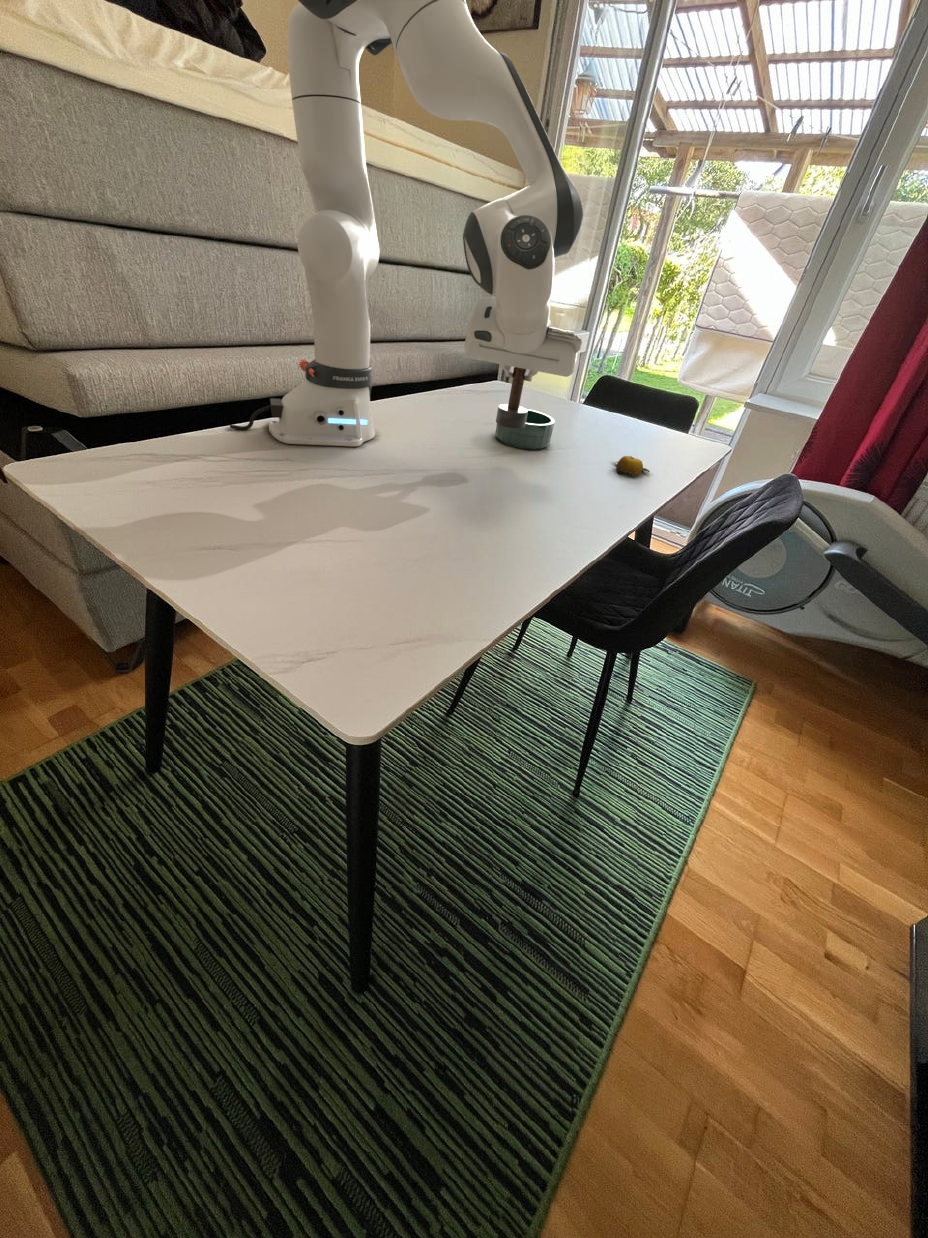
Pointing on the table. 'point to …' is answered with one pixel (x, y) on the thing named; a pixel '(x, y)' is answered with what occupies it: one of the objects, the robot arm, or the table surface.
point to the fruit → (630, 465)
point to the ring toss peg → (513, 404)
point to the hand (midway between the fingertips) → (519, 376)
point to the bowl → (528, 432)
